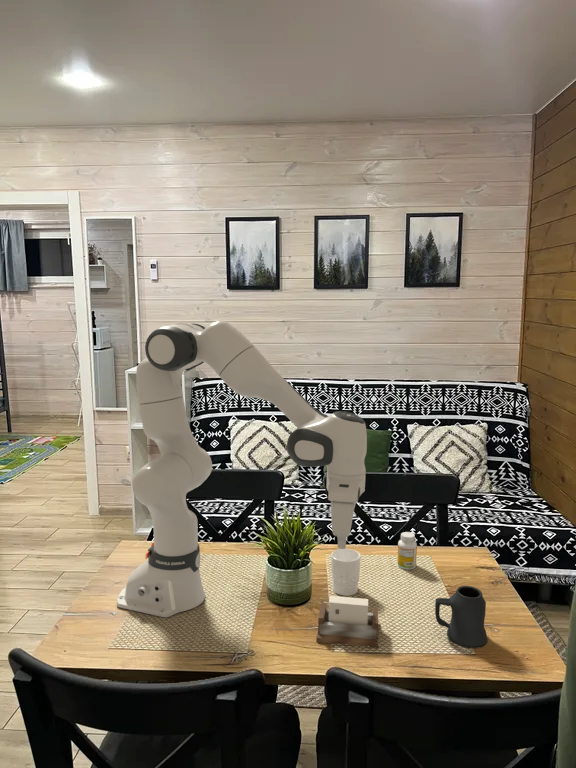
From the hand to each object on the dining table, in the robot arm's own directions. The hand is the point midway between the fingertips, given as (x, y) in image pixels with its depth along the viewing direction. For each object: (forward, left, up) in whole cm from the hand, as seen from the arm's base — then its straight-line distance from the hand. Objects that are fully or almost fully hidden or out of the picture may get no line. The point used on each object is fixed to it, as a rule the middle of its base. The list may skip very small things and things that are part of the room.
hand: (343, 538), depth 135 cm
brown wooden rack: (+2, -2, -22) cm, 22 cm away
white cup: (0, +18, -22) cm, 29 cm away
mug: (+28, +1, -23) cm, 36 cm away
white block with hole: (+2, -2, -21) cm, 21 cm away
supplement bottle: (+17, +35, -22) cm, 45 cm away
